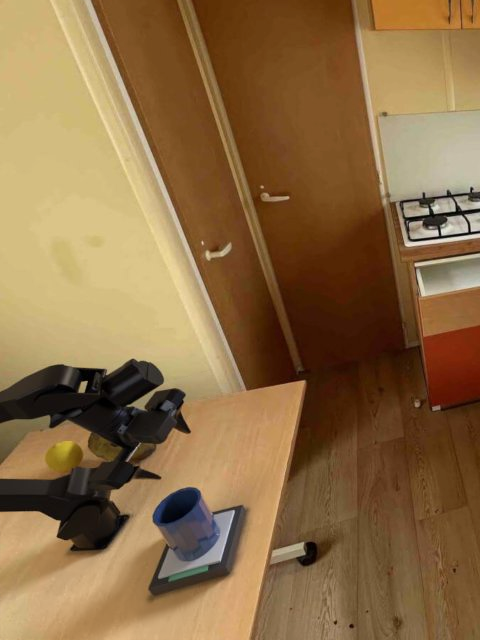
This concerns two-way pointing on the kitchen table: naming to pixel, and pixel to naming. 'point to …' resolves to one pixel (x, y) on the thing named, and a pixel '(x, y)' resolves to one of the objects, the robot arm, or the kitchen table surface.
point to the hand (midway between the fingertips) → (174, 455)
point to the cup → (186, 524)
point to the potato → (118, 449)
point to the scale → (207, 566)
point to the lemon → (63, 456)
